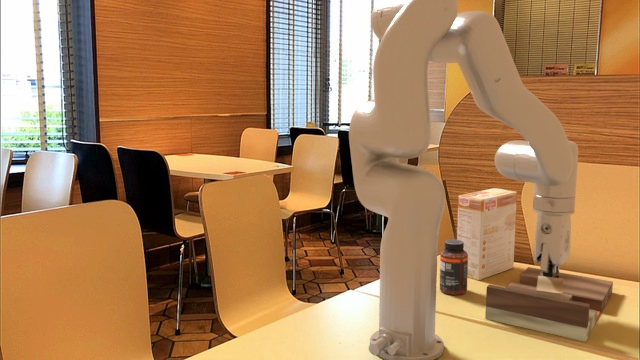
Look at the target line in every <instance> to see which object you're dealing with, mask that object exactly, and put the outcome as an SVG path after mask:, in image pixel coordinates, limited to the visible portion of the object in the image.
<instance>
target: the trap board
mask: <svg viewBox="0 0 640 360" xmlns="http://www.w3.org/2000/svg"><path fill="white" fill-rule="evenodd" d="M558 275H559V278H562V279H563V292H562V299H561V298H556V297H551V296H546V295H540V294H536V290H537V281H538V276H540V268H536V267H530V266H528V267H527V268H526V269H524V271H523V272H521V274H520V275H519V282H513V281H512V282H510V283H509V284H508V285H507V286H506V287H505V286H499V285H495V284H494V285H493V284H488V285H487V286H486V292H485V293H486V294H485V298H486V299H485V300H486V301H485V314H484V315H485V317H484V320H490V321H493V322H498V323H502V324H507V325H512V326H515V327H519V328H525V329H529V330H532V331H537V332H541V333H546V334H551V335H555V336H559V337H563V338H566V339H567V338H568V339H571V340H576V341H580V342H585V343H586V342H587V340H588V338H589V337H590V334H591V333H592V331H593V329H594V327H595V325H596V322H597V319H598V318H599V316H600V314H601V313H602V312H603V311H604V309H605V306H606V304H608V303H607V302H608V301H609V299H610V297H611V295H612V294H611V293H613V286H614V285H613V284H614V281H613V280H606V279H602V278H595V277H588V276H582V275H577V274H572V273H564V272H560V271H559V274H558Z"/></svg>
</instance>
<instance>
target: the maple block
mask: <svg viewBox="0 0 640 360" xmlns="http://www.w3.org/2000/svg"><path fill="white" fill-rule="evenodd" d="M562 292H563V279H562V278H553V277H545V276H538V281H537V290H536V294H540V295H546V296H551V297H556V298H561V299H562Z"/></svg>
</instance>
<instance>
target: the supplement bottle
mask: <svg viewBox="0 0 640 360" xmlns="http://www.w3.org/2000/svg"><path fill="white" fill-rule="evenodd" d="M463 248H464V242H463V241H461V240H457V239H446V240H445V242H444V249H442V251H441V252H440V255H439V256H440V257H439V262H440V263H439V290H440V291H441V292H442V293H443V294H447V295H451V296H453V295H454V296H459V295H464V294H465V293H466V292H467V291H468V277H467V274H468V254H467V252H466V251H464V249H463Z"/></svg>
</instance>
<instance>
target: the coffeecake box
mask: <svg viewBox="0 0 640 360" xmlns="http://www.w3.org/2000/svg"><path fill="white" fill-rule="evenodd" d="M457 198H458V199H457V228H456V230H457V233H456V240H461V241H463V242H464V248H463V249H464V251H466V252H467V254H468V274H467V278H470V279H473V280H476V281H481V280H483V279H487V278H489V277H492V276H494V275H497V274H499V273H503V272H506V271H509V270H510V269H513V268H514V265H515V263H514V261H515V260H514V259H515V243H516V242H515V241H516V240H515V238H516V220H517V201H518V200H517V198H518V191H516V190H507V189H504V188H496V187H495V188H494V187H493V188H490V189H489V188H488V189H484V190H479V191H474V192H469V193H464V194H460V195H458V197H457Z"/></svg>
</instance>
